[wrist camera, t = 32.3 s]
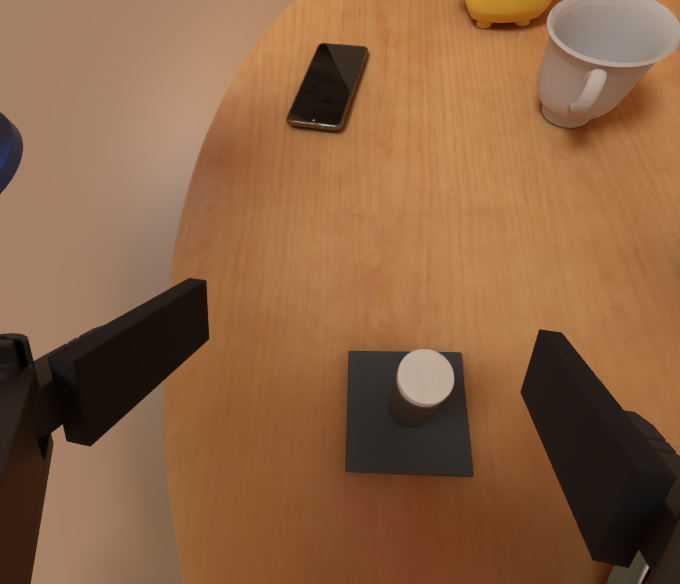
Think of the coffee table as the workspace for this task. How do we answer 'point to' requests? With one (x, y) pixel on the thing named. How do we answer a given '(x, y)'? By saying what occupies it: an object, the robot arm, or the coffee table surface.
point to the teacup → (600, 55)
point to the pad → (397, 441)
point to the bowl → (629, 572)
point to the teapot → (505, 11)
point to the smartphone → (328, 87)
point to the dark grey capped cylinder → (420, 387)
